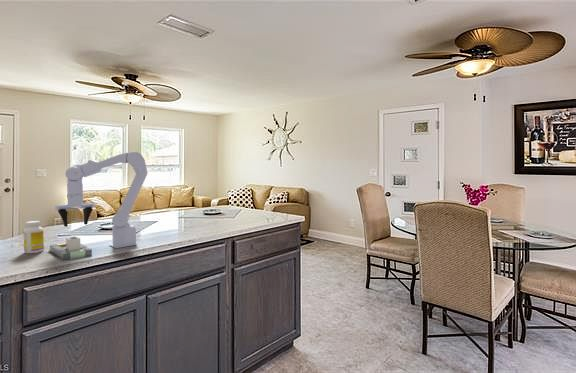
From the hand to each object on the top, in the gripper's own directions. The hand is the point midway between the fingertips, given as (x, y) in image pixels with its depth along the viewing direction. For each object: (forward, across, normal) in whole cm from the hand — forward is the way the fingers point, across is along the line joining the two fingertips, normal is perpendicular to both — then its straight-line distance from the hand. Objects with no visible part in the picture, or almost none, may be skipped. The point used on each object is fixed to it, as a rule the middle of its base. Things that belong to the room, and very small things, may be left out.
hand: (75, 225), depth 146 cm
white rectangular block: (+10, +4, +11) cm, 16 cm away
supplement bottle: (+11, +14, -6) cm, 19 cm away
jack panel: (+10, +4, +6) cm, 13 cm away
